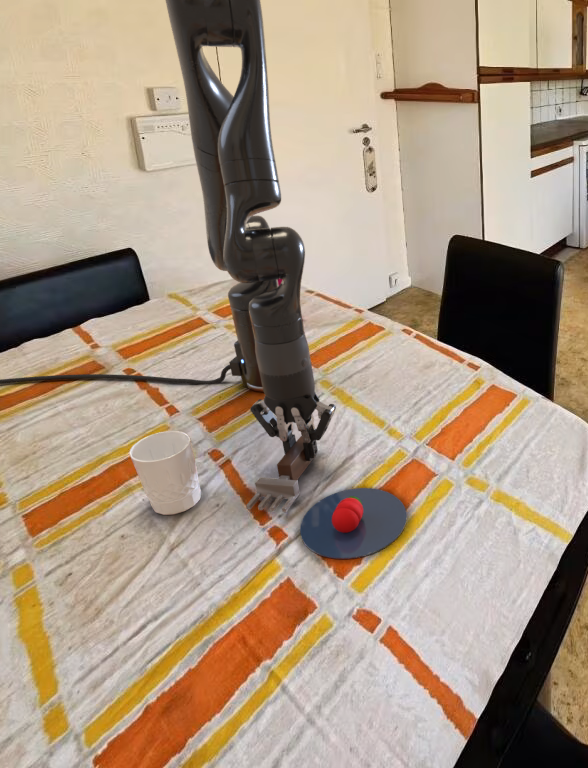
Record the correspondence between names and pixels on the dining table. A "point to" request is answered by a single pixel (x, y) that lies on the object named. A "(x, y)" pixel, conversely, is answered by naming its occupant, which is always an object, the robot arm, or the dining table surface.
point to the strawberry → (347, 514)
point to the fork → (282, 480)
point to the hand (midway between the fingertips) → (302, 457)
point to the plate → (370, 536)
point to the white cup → (167, 471)
